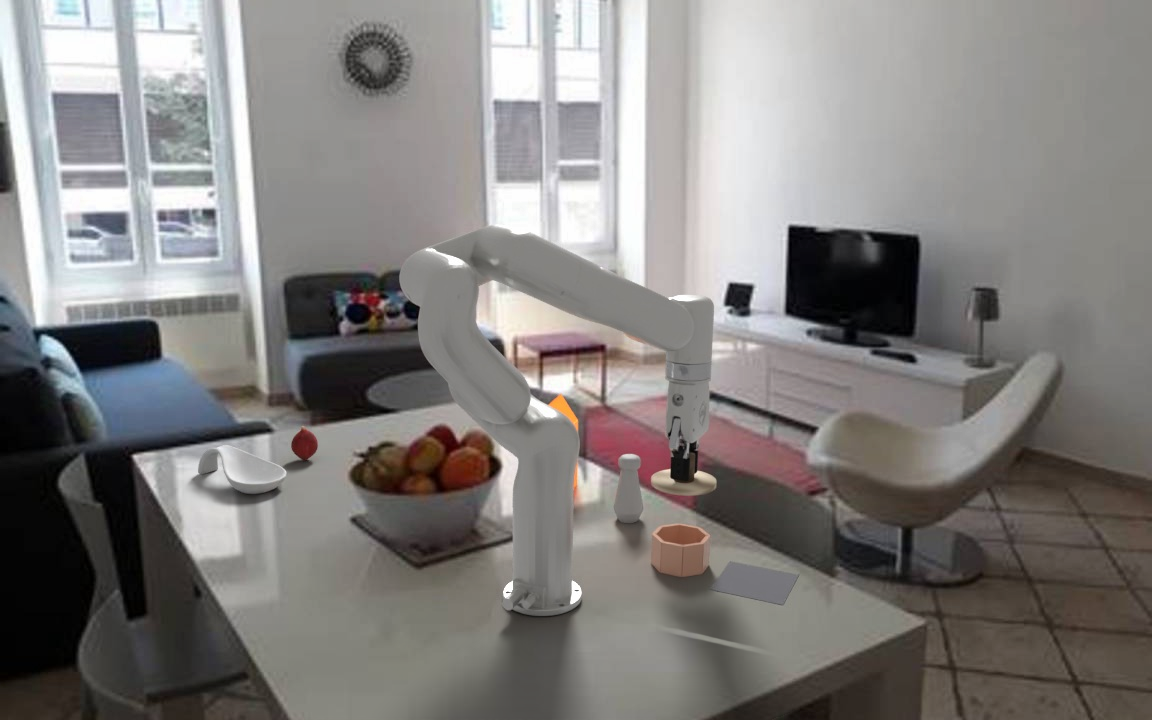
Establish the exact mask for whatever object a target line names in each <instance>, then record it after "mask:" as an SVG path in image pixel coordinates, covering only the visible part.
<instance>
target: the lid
mask: <svg viewBox="0 0 1152 720" xmlns="http://www.w3.org/2000/svg"><path fill="white" fill-rule="evenodd" d="M688 458H690V477H689V480H688V481H681V480H675V479H671V478H670V470H671V468H669V469H663V470H659V471H656V472H654V473H653V474H652V475H651V477H650V484H651V486H652V487H653V488H654V489H656V490H658V491H660V492H662V493H665V494H670V495H675V496H683V497H684V496H685V497H686V496H687V497H688V496H690V497H691V496H701V495H707V494H709V493H711V492H714V491H715V490H716V489H717V478H716V477H715V476H714V475H712V474H709V473H707V472H704V471H700V470H697V473H695V453H693V452H689V455H688ZM694 473H695V474H694Z"/></svg>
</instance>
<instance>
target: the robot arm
mask: <svg viewBox="0 0 1152 720" xmlns="http://www.w3.org/2000/svg"><path fill="white" fill-rule="evenodd" d="M398 278H399V284H400V288H401V290H402V294H403V295H404V296H405V298H406V299H408V300H409V301H410V303H412V304H414V305H416V306H418V307H419V311H418V319H417V331H418V332H417V335H418V340H419V341H418V342H419V345H420V349H421V351H422V353H423V355H424V357H425V359H426V360H427V361H428V363H429V364H430V365H431V366H432V367H433V369H435V371H436V372H437V373H438V374H439V375H440V376H441V377H442V378H443V379H444V380H445V381H446V382H447V384H448V390H449V393H450V395H451V398H452V399H453V400H454V402H455V403H456V404H457V405H458V406H459V407H460V408H461V409H462V410H463V412H465V413H466V414H467V415H468V416H469V417H470V418H471V419H472V420H473V421H474V422H475V423H476V424H478V426H479V427H480V428H482V429H483V430H484V431H485V432H486V434H488V435H489V436H490V437H491V438H492V439H493V440H494V441H495V442H497V444H498V445H500V446H501V447H503V449H505V450H507V451H508V452H509V453H511V454H512V455H513V456H514V457H516V458H517V462H518V464H517V470H516V474H515V477H514V481H513V486H512V506H511V507H512V581H511V582H509V583H508V584H506V585H505V586H504V589H503V590H502V591H503V592H502V601H501V603H502V604H501V605H502V607H503V608H504V609H505V610H506V611H511V610H513V611H515V612H517V613H519V614H522V615H523V614H524V615H527V616H533V617H550V616H552V617H553V616H557V615H561V614H565V613H567V612H570V611H573V610H574V609H576V607H577V606H579V605H580V603H581V602H582V597H583V592H582V589H581V587H580V585H578V583H576V582H575V581H573V562H574V561H573V556H574V555H573V553H574V545H573V544H574V490H575V488H574V477H575V470H576V465H577V466H578V464H577V460H578V461H579V454H580V446H581V445H580V444H581V441H580V436H579V435H580V434H579V430H578V431H577V429H576V427H575V425H574V424H573V422H572V421H571V420H570V419H569V418H568V417H567V416H566V415H565V414H563V413H562V412H560V411H558V410H557V409H555V408H553V407H551V406H549V404H548V403H545V402H543V401H541V400H539V399H538V398H537V397H535V396H534V395H533V394H532V393H531V389H530V386H529V383H528V381H527V379H526V377H525V376H524V375H523V373H522V372H521V371H520V370H519V369H518V368H517V367H516V366H515V365H514V364H512V363H511V362H510V361H509V360H508V359H507V358H506V357H505V356H504V355H503V354H502V353H501V352H500V351H499V350H498V349H497V348H496V347H495V345H493V344H492V343H491V342H490V341H489V339H488V338H487V337H486V335H484V333H483V332H482V331H481V330H480V329H479V327H478V324H477V320H476V319H477V318H476V313H477V305H478V300H479V296H480V295H479V294H480V293H479V292H480V286H482V285H485V284H488V283H489V282H492V281H493V282H494V281H495V282H497V283H501V284H502V285H505V286H507V287H509V288H511V289H514V290H516V291H518V292H519V293H520V292H521V293H523V294H524V295H527V296H529V297H532V298H534V299H536V300H538V301H540V302H543V303H545V304H547V305H550V306H552V307H554V308H556V309H558V310H560V311H563V312H565V313H568V314H570V315H572V316H573V317H577V318H578V319H579V318H580V319H581V320H582V319H583V320H585V321H589V322H591V323H595V324H600V325H603V326H606V327H610V328H612V329H615V330H616V331H619V332H622V334H624V335H625V336H626V338H628V339H631V340H633V341H635V342H638V343H641V344H644V345H646V346H650V347H653V348H656V349H658V350H661V351H662V352H665V371H664V372H665V374H664V375H665V376H664V378H665V380H666V381H668V389H667V397H666V405H665V406H666V407H665V424H664V425H665V429H664V431H665V432H664V433H665V438H666V439H668V440H669V442H668V448H669V450H670V469H671V470H670V478H671V479H675V480H681V481H688V480H689V477H690V458H688V455H689V452H693V453H695V473H697V471H698V469H699V468H698V465H699V464H698V463H699V448H700V447H699V446H700V438H701V437H702V436H703V435H704V434H706V433H707V432H708V430H709V429H710V384H709V383H710V381H711V380H712V365H713V364H712V363H713V362H712V360H713V359H712V358H713V341H714V320H715V319H714V318H715V317H714V315H715V305H714V302H713V300H712V299H711V298H710V297H708V296H705V295H698V294H678V295H675V296H671V297H670V296H664V295H662V294H660V293H659V292H656V291H654V290H652V289H650V288H648V287H645V286H643V285H642V284H638V283H637V282H635V281H632V280H630V279H628V278H625V277H623V276H621V275H619V274H617V273H615V272H614V271H612V270H609V269H607V268H605V267H603V266H601V265H598V264H597V263H594V262H592V261H591V260H588V259H586V258H584V257H582V256H580V255H578V254H576V253H574V252H571V251H569V250H567V249H565V248H563V247H561V246H559V245H557V244H555V243H553V242H551V241H549V240H548V239H545V238H543V237H541V236H539V235H537V234H535V233H533V232H530V231H528V230H526V229H522V228H518V227H514V226H508V225H504V224H491V225H486V226H484V227H480V228H477V229H475V230H472V231H469V232H466V233H463V234H460V235H458V236H455V237H452V238H450V239H446V240H444V241H441V242H438V243H435V244H432V245H429V246H427V247H424V248H422V249H419V250H417V251H415V252H414V253H412V254H411V255H409V256H408V257H407V258H406V260H405V261H404V263H403V264H402V265H401V268H400V271H399V277H398ZM695 473H694V474H695Z"/></svg>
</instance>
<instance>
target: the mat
mask: <svg viewBox="0 0 1152 720" xmlns="http://www.w3.org/2000/svg"><path fill="white" fill-rule="evenodd" d="M799 576H800V574H796V573H791V572H787V571H781V570H778V569H771V568H767V567H761V566H757V565H751V564H746V563H741V562H737V561H731V560H730V561H729V562H728V563H727V565H726V566H725V568H724V569H723V570H722V572H721V573H720V574H719V576H718V577H717V578H716V579H715V581H714V583H713V584H712V586H711V587H710V588H709V590H710V591H714V592H719V593H723V594H728V595H733V596H738V597H743V598H746V599H752V600H755V601H756V600H757V601H761V602H767V603H771V604H775V605H779V606H784V604H785V602H786V600H787V598H788V597H789V594H790V593H791V591H792V589H793V587H794V585H795V584H796V582H797V579H798V578H799Z"/></svg>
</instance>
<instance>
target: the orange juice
mask: <svg viewBox="0 0 1152 720" xmlns="http://www.w3.org/2000/svg"><path fill="white" fill-rule="evenodd" d="M548 405H549V406H551V407H553V408H555V409H557V410H558V411H560V412H562V413H563V414H565V415H566V416H567V417H568V418H569V419H570V420H571V421H572V422H573V424H574V425H575V427H576V429H577V431H578V432H579V419H578V418H577V417H576V415H575V413H574V411H572V409H571V407H570V406H569V404H568V403H567V401H566V400H565V398H564V396H563V395H562V393H560V394H559V395H557V397H556V398H554V399H552V401H551V402H550V403H549V404H548ZM578 461H579V459H578V460H577V465H576V470H575V477H574V489H575V488H576V487H577V485H578V464H579V463H578Z"/></svg>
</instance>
